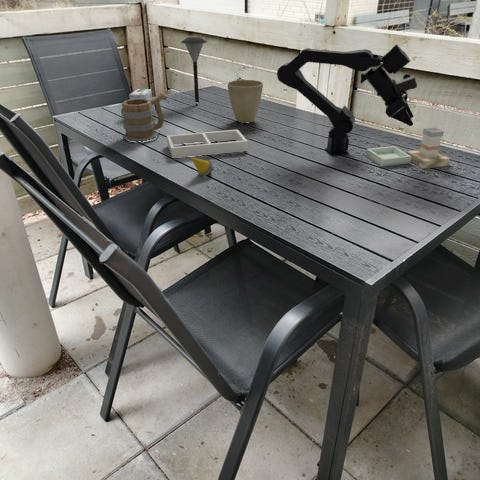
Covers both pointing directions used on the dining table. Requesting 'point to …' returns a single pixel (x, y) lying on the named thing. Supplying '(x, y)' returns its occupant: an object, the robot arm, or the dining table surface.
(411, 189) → the dining table surface
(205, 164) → the yellow tapered piece
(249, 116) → the plant pot
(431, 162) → the collar block
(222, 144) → the parts bin
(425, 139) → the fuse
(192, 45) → the solar garden light
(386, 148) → the tray
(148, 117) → the tankard
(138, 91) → the light bulb box
